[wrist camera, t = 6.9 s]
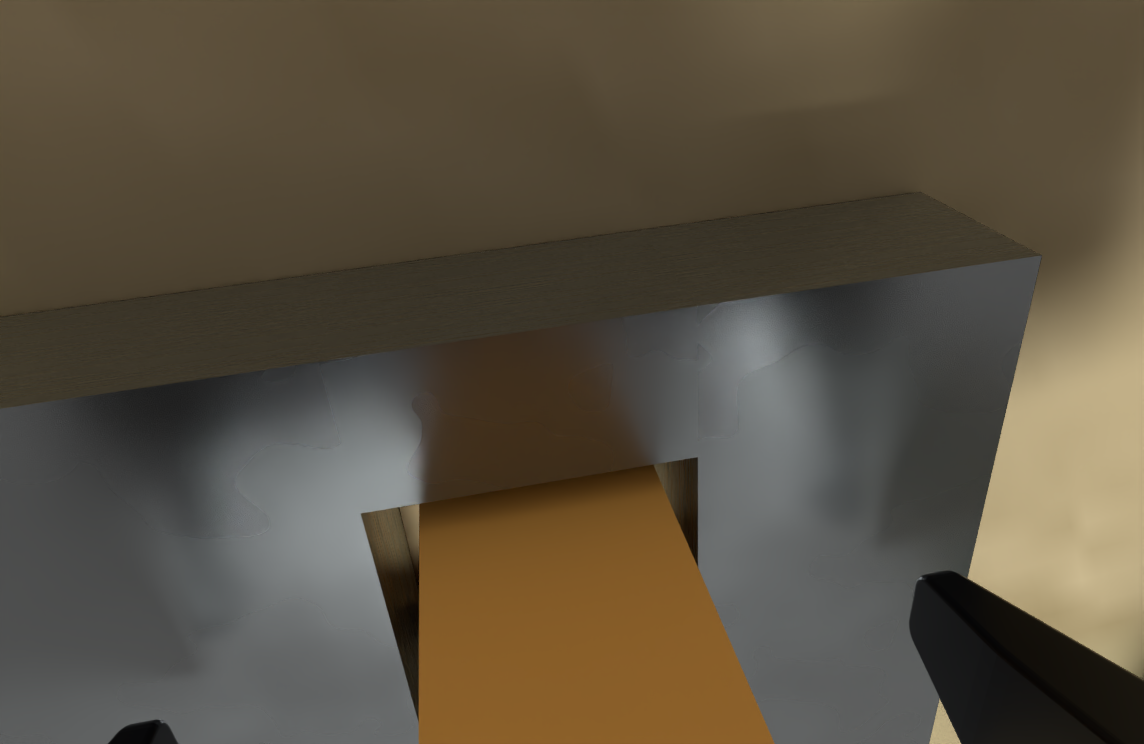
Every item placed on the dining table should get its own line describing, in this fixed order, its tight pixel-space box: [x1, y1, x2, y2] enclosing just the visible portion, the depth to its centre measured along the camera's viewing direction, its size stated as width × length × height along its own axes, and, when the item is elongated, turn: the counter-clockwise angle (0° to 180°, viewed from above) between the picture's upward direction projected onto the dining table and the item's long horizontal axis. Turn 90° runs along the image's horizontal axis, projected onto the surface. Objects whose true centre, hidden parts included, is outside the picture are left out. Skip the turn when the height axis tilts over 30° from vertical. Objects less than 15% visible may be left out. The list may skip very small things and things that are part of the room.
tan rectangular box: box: [419, 465, 775, 744], centre depth 9 cm, size 3×3×8 cm
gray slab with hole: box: [0, 192, 1042, 744], centre depth 12 cm, size 14×12×2 cm
